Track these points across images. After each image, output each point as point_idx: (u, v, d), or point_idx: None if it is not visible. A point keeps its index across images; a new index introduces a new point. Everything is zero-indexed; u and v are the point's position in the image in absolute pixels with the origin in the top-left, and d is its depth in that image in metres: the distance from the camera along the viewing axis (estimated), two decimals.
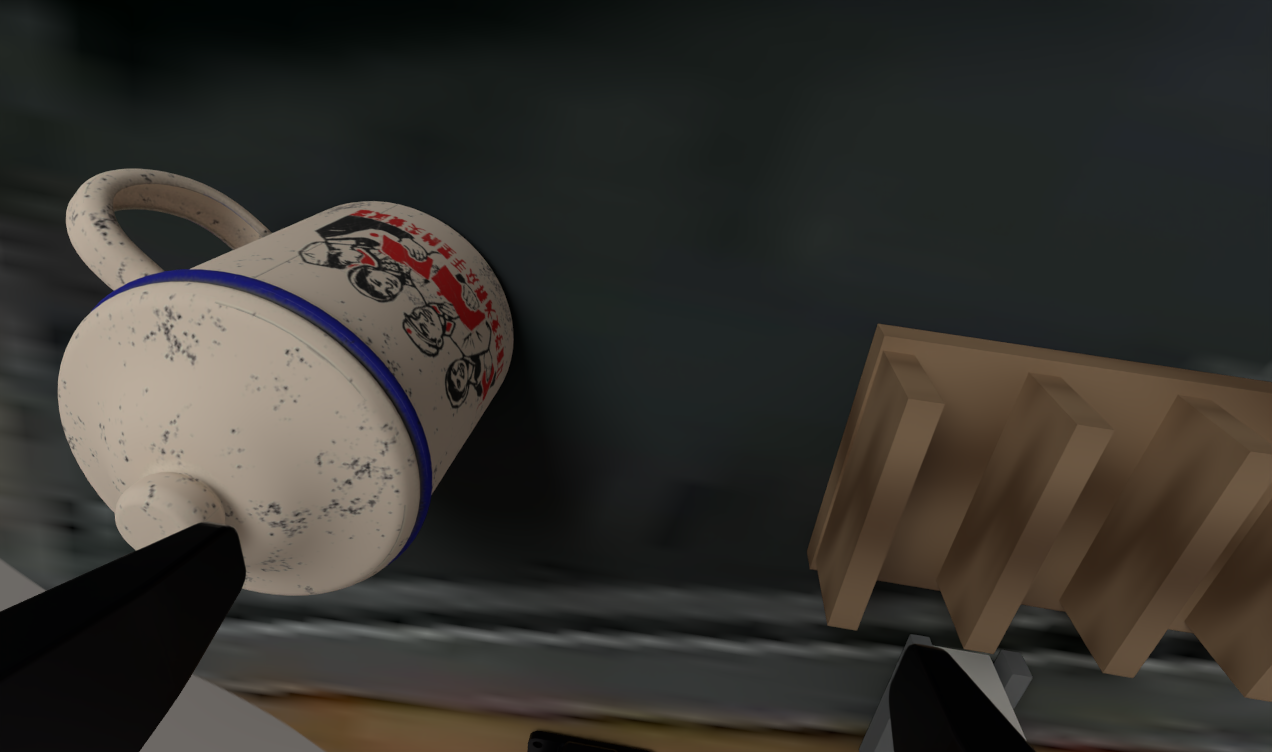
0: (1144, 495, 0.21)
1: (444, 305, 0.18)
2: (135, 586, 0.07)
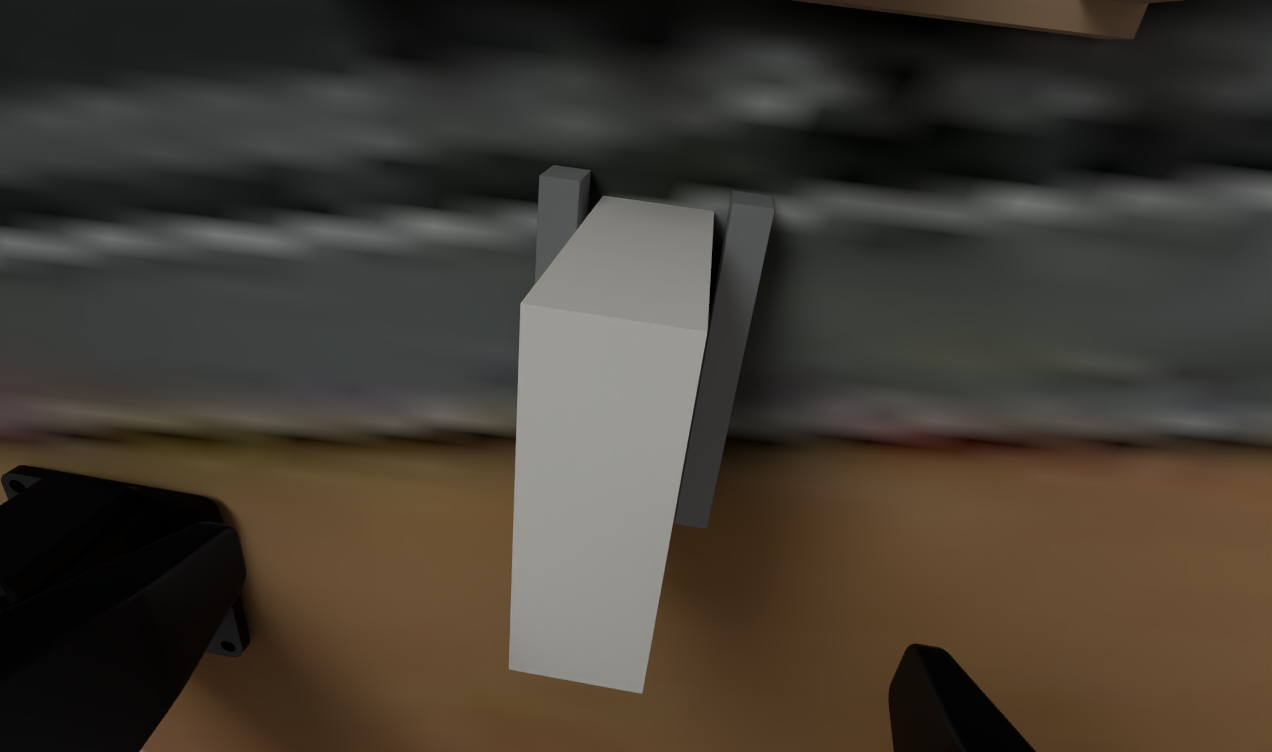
0: None
1: None
2: (135, 586, 0.07)
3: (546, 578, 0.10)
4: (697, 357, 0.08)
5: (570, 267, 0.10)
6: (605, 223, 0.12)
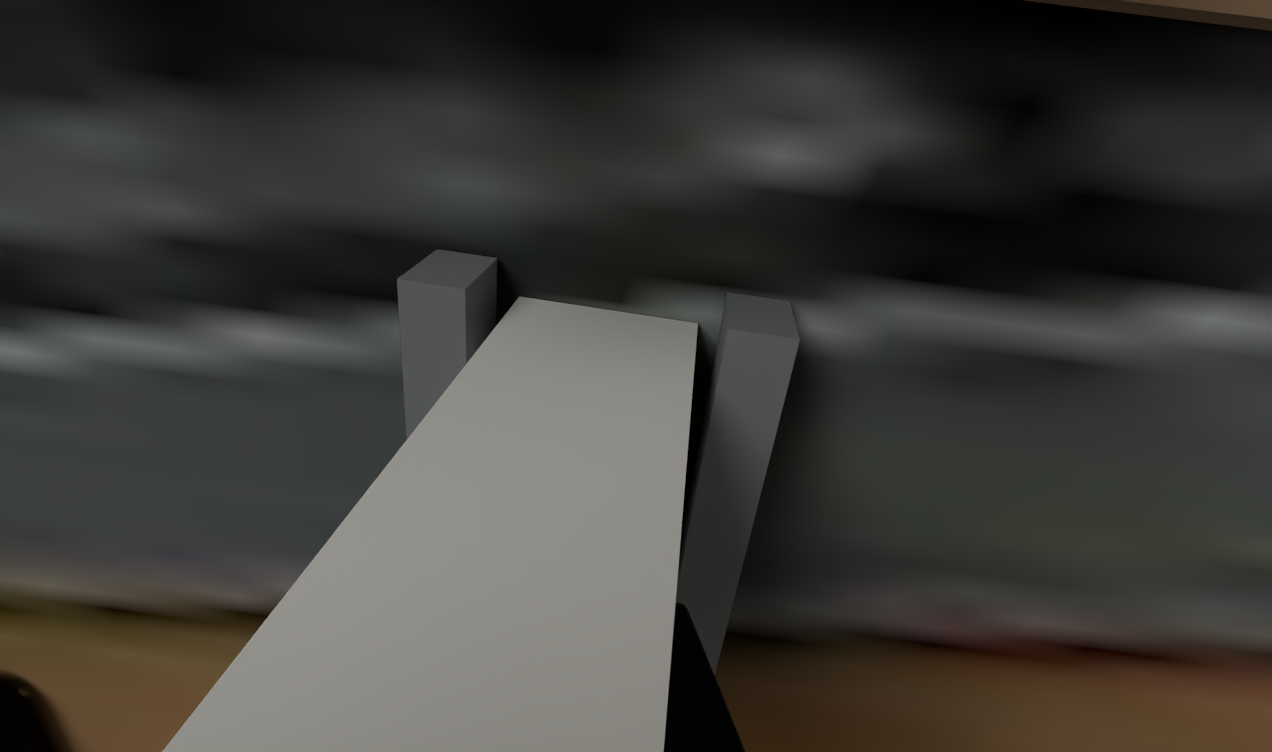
0: None
1: None
2: None
3: None
4: None
5: (365, 555, 0.04)
6: (499, 376, 0.07)
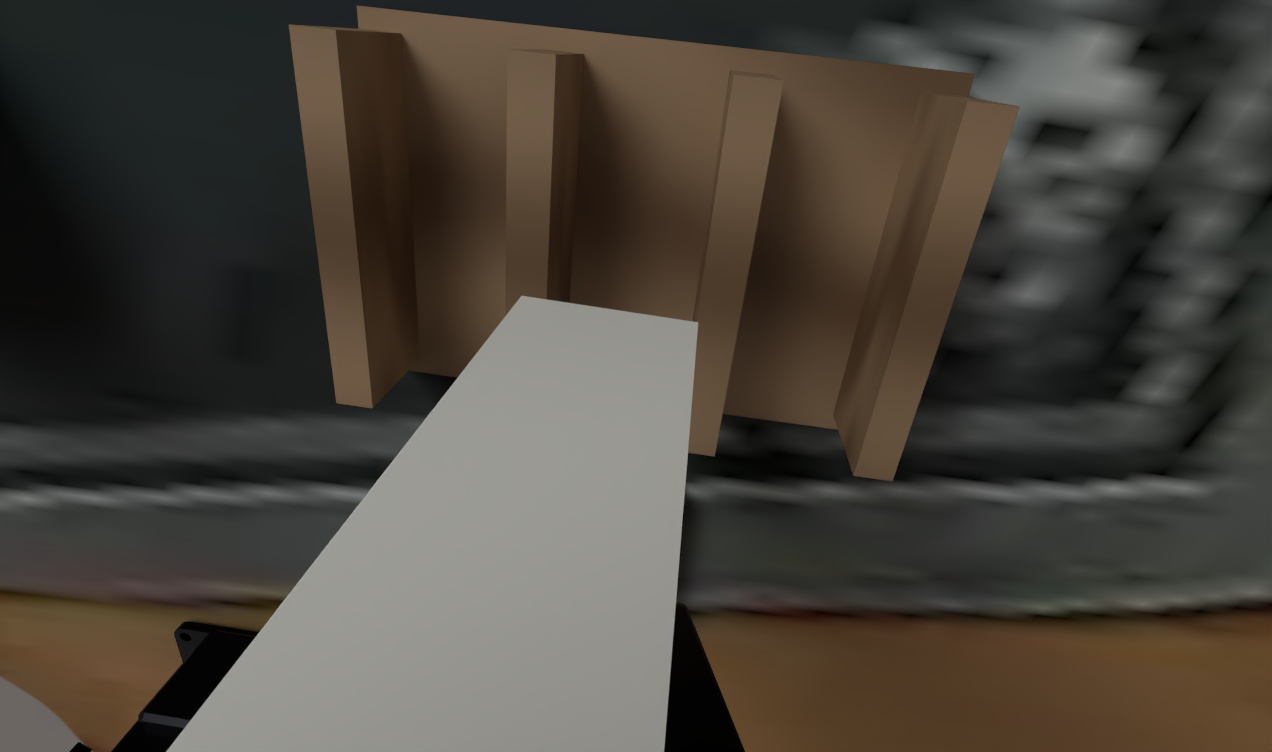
0: (709, 213, 0.17)
1: None
2: None
3: None
4: None
5: (373, 548, 0.04)
6: (503, 373, 0.07)
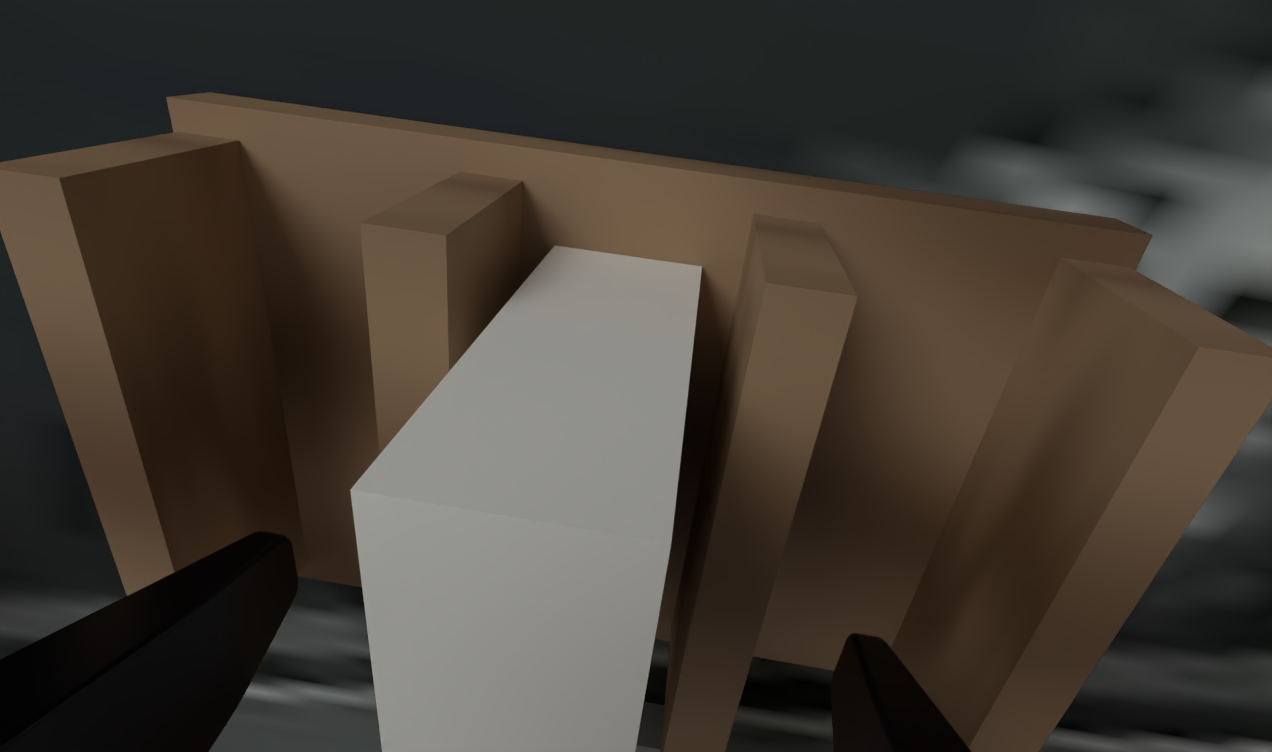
0: (715, 425, 0.11)
1: None
2: (200, 598, 0.07)
3: None
4: (655, 580, 0.05)
5: (467, 392, 0.06)
6: (545, 296, 0.09)
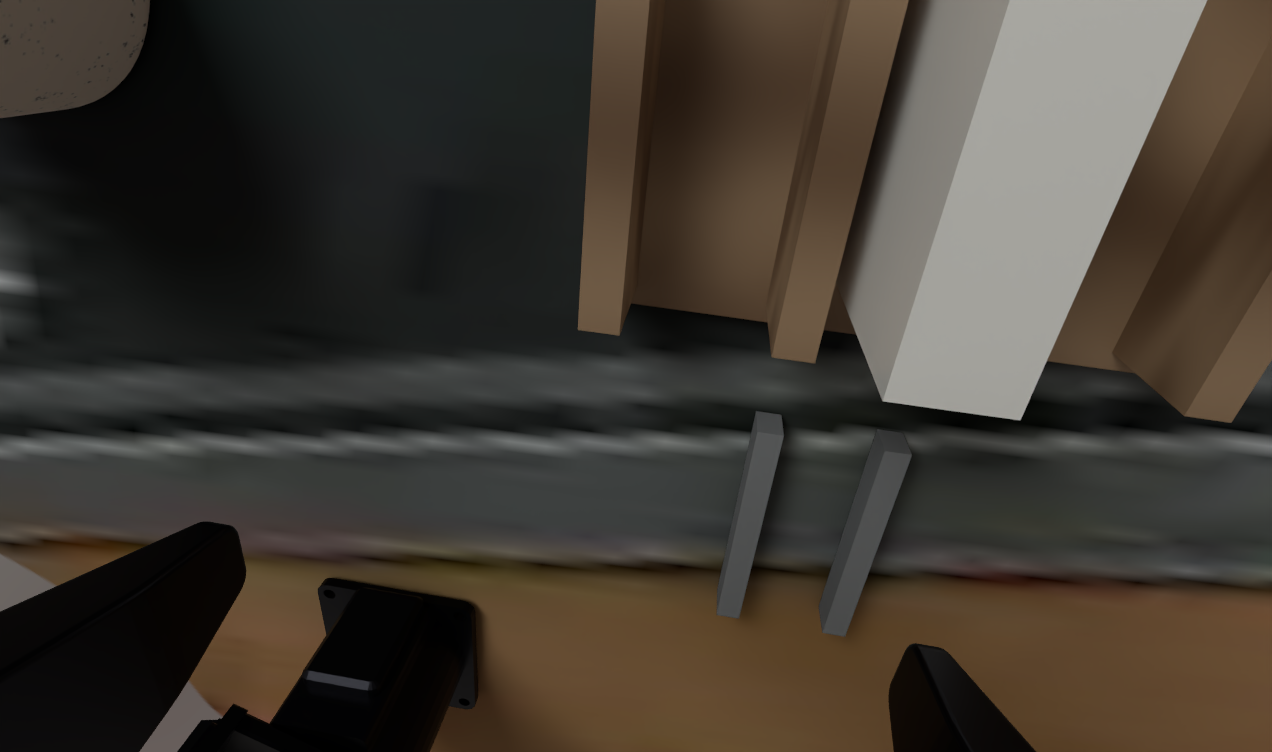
0: None
1: None
2: (135, 586, 0.07)
3: (957, 282, 0.11)
4: None
5: None
6: None
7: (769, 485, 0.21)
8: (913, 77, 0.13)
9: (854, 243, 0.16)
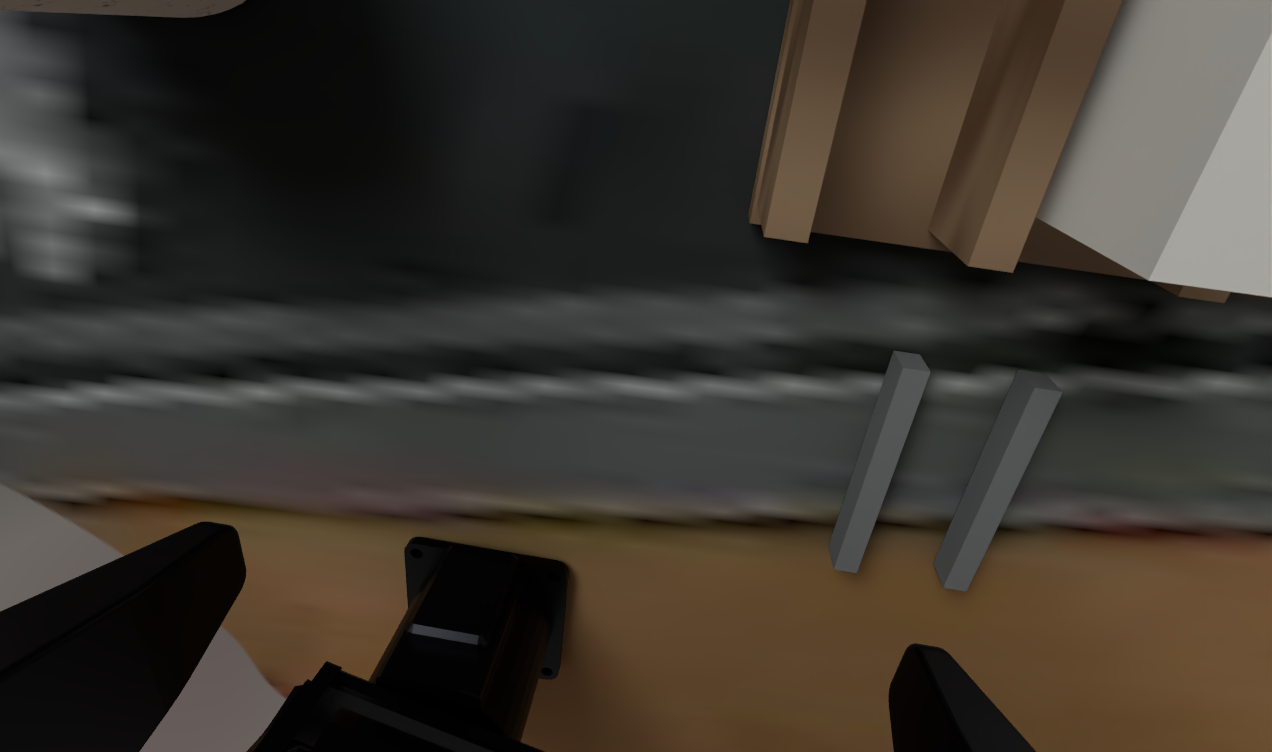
0: None
1: None
2: (135, 586, 0.07)
3: (1256, 141, 0.10)
4: None
5: None
6: None
7: (908, 426, 0.20)
8: None
9: None
